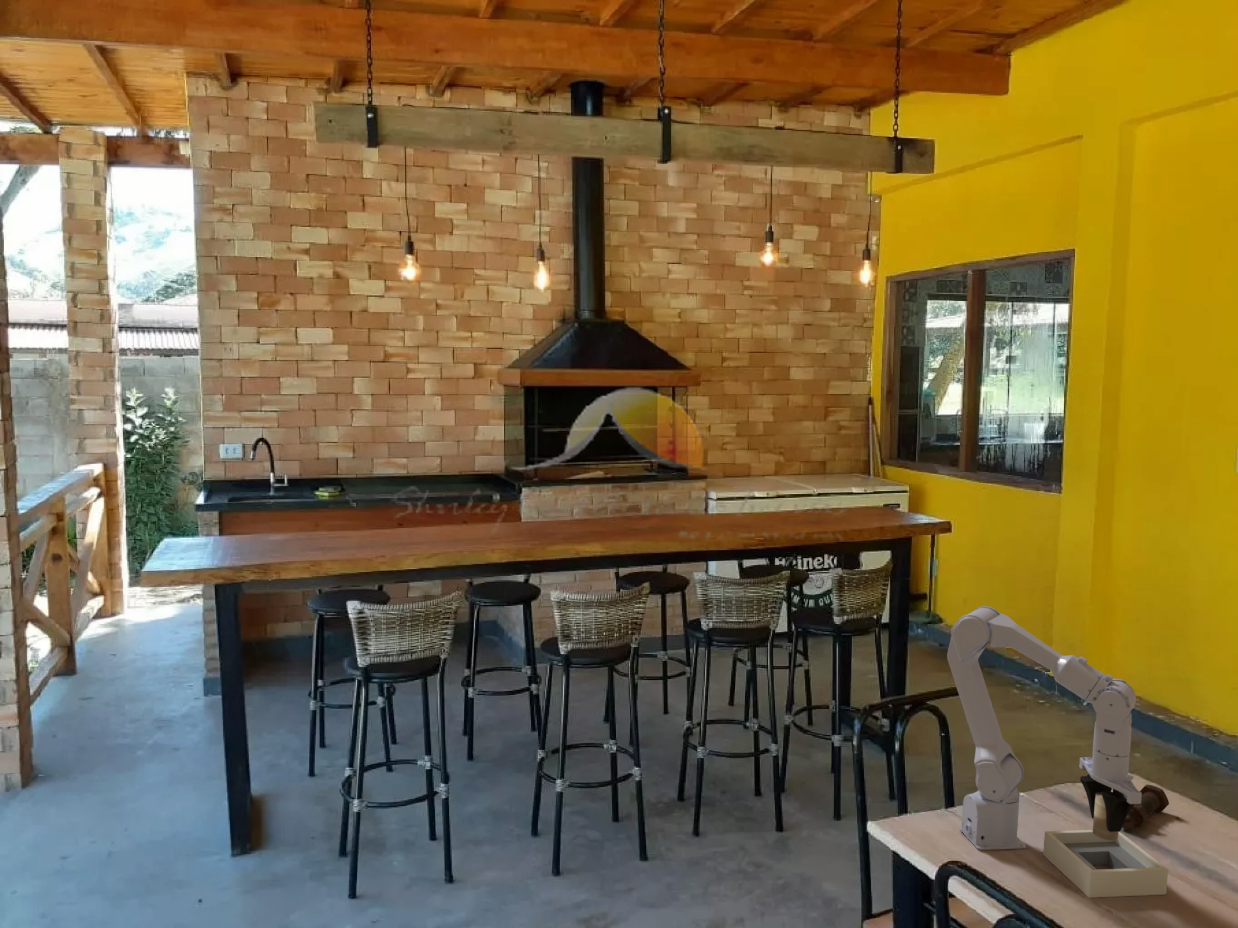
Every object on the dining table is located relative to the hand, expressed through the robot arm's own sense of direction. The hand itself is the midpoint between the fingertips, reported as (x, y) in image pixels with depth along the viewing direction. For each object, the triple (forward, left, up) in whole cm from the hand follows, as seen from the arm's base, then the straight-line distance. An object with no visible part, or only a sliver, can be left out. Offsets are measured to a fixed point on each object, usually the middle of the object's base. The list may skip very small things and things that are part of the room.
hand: (1105, 824), depth 162 cm
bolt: (+20, +19, -10) cm, 29 cm away
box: (0, 0, -9) cm, 9 cm away
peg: (0, 0, -2) cm, 2 cm away
